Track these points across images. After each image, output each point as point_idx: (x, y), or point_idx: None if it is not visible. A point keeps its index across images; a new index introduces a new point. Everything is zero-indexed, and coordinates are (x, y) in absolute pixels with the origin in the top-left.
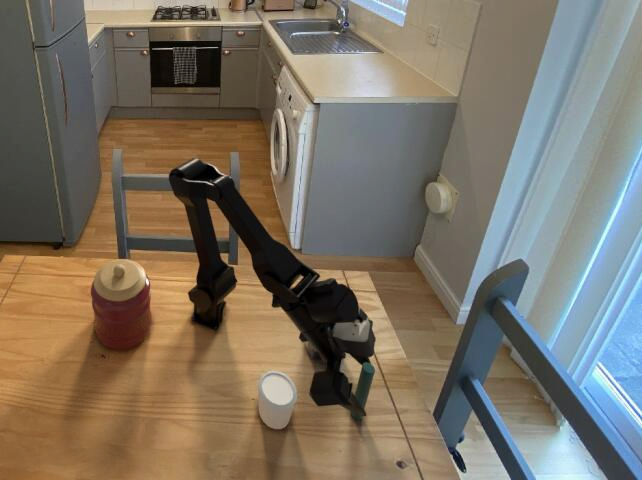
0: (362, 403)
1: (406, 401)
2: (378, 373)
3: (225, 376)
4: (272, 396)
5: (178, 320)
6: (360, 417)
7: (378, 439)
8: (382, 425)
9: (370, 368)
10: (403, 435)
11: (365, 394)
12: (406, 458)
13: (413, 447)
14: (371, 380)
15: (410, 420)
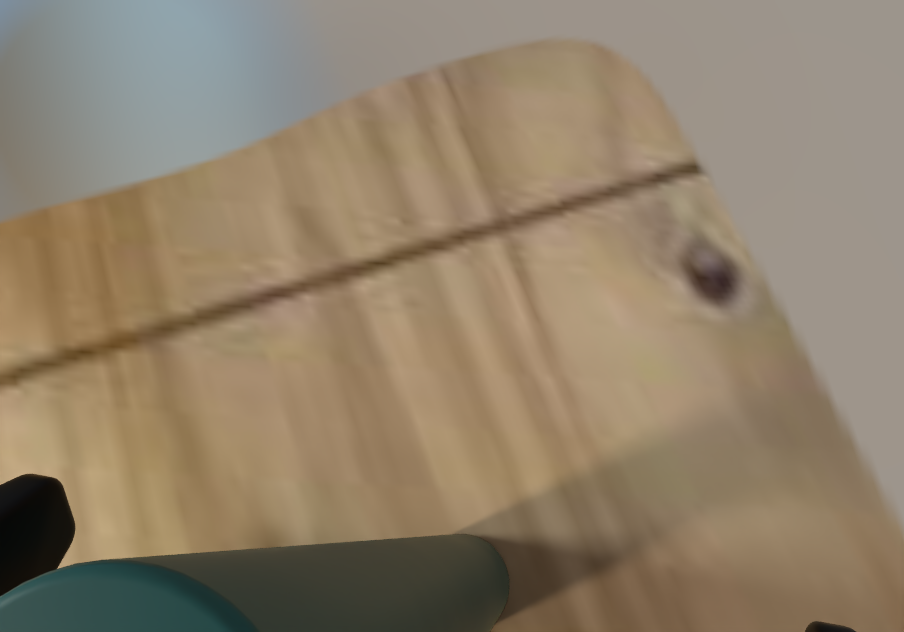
0: (488, 592)
1: (238, 209)
2: (67, 385)
3: None
4: None
5: None
6: (499, 558)
7: (599, 416)
8: (476, 381)
9: None
10: (494, 244)
11: (467, 602)
12: (651, 236)
13: (553, 189)
14: (367, 592)
15: (368, 194)
